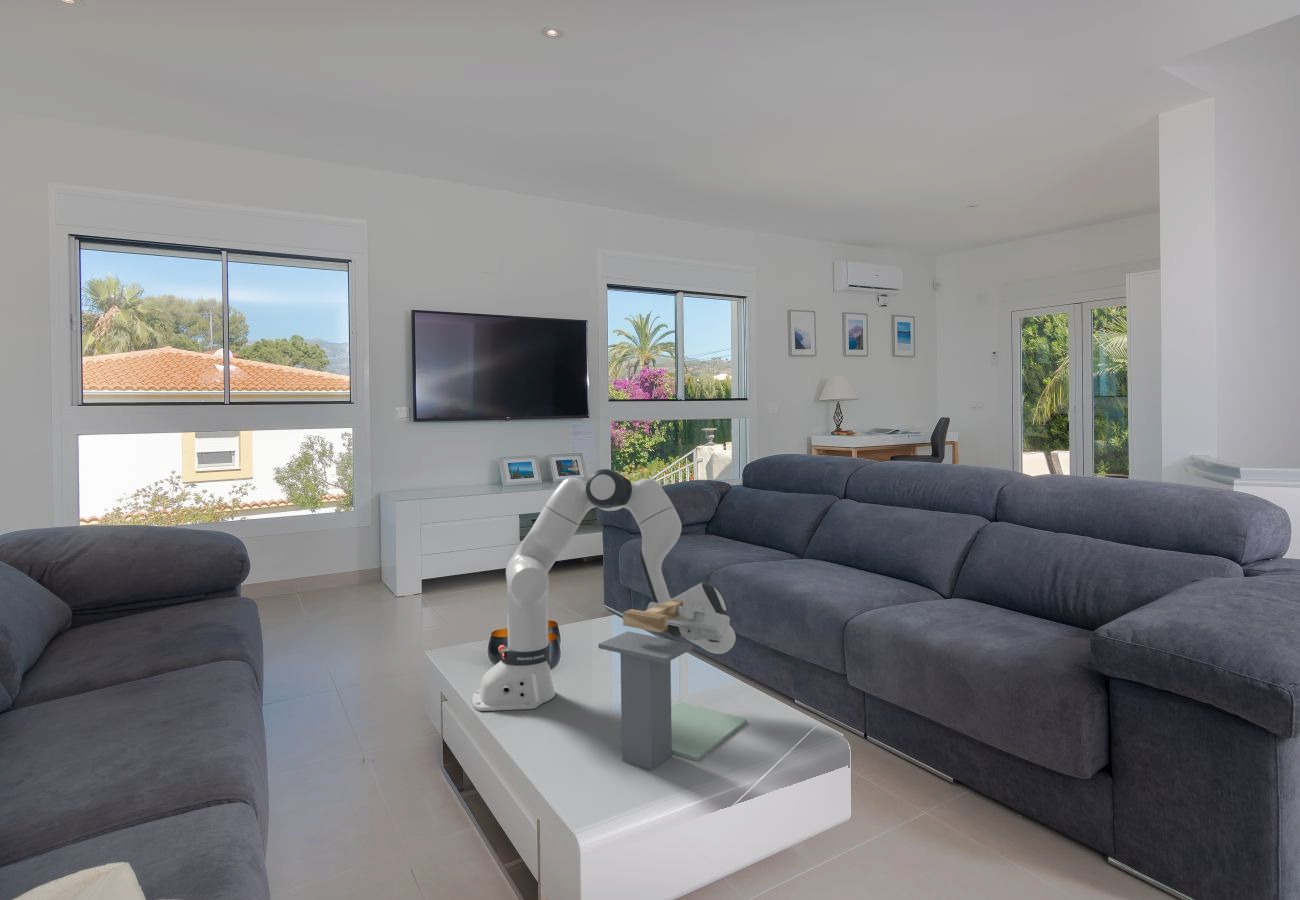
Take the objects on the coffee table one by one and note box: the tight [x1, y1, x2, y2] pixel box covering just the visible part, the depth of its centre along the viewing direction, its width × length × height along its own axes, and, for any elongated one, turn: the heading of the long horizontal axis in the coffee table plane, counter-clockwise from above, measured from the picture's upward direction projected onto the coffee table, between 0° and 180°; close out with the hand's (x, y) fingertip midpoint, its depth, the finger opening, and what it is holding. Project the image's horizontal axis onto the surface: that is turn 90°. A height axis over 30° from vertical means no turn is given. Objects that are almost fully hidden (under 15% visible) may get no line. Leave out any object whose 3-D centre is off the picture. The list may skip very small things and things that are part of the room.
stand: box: [598, 631, 694, 771], centre depth 158 cm, size 11×18×26 cm, turn 55°
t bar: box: [622, 600, 683, 633], centre depth 162 cm, size 15×10×3 cm, turn 145°
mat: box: [671, 701, 748, 762], centre depth 172 cm, size 24×20×1 cm
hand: (670, 608), depth 165 cm, fingers closed on t bar, 3 cm apart
